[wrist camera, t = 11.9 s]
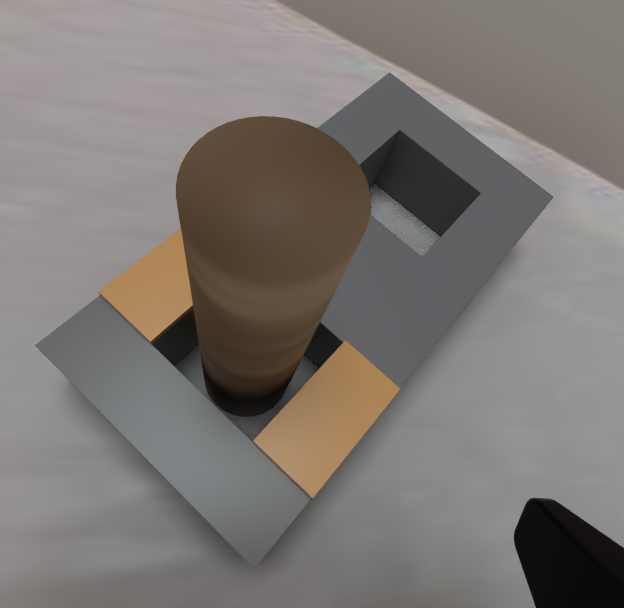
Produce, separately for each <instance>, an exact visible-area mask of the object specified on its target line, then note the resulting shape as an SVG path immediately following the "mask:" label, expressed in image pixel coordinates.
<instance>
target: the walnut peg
mask: <svg viewBox="0 0 624 608" xmlns="http://www.w3.org/2000/svg"><path fill="white" fill-rule="evenodd" d="M176 199H177V206H178V212H179V219H180V225H181V232H182V238H183V244H184V251H185V257H186V264H187V270H188V277H189V283H190V290H191V296H192V302H193V309H194V315H195V322H196V328H197V335H198V341H199V347H200V354H201V360H202V367H203V373H204V380H205V385H206V389H207V391H208V393H209V395H210V397H211V399H212V400H213V401H214V402H215V403H216V405H218V406H219V407H220V408H221V409H223V410H224V411H226V412H228V413H231V414H234V415H238V416H254V415H259V414H261V413H264V412H266V411H268V410H269V409H271V408H272V407H273V406H275V405H276V404H277V403H278V401H279V400H280V399H281V398H282V396H283V394H284V392H285V390H286V388H287V386H288V384H289V383H290V381H291V379H292V377H293V375H294V373H295V371H296V369H297V367H298V365H299V363H300V361H301V359H302V357H303V355H304V353H305V351H306V349H307V347H308V345H309V343H310V341H311V339H312V337H313V335H314V333H315V331H316V329H317V327H318V325H319V323H320V321H321V319H322V317H323V315H324V313H325V311H326V309H327V307H328V305H329V303H330V301H331V299H332V297H333V295H334V293H335V291H336V289H337V287H338V285H339V283H340V281H341V279H342V277H343V275H344V274H345V272H346V270H347V268H348V266H349V264H350V262H351V260H352V258H353V256H354V254H355V252H356V250H357V248H358V246H359V244H360V242H361V240H362V238H363V236H364V234H365V231H366V229H367V227H368V223H369V219H370V213H371V196H370V191H369V186H368V183H367V180H366V178H365V175H364V173H363V171H362V170H361V168H360V166H359V164H358V163H357V162H356V160H355V159H354V157H353V156H352V155H351V154H350V153H349V152H348V151H347V149H346V148H344V147H343V146H342V145H341V144H340V143H339V142H338V141H336V140H335V139H334V138H332V137H331V136H329V135H328V134H326V133H324V132H323V131H321V130H319V129H317V128H315V127H312V126H310V125H308V124H305V123H302V122H299V121H296V120H291V119H287V118H280V117H267V116H260V117H249V118H243V119H238V120H235V121H232V122H228V123H226V124H223V125H221V126H219V127H217V128H215V129H213V130H212V131H210V132H208V133H207V134H206V135H204V136H203V137H202V138H200V139H199V140H198V141H197V142H196V143H195V144H194V145H193V146H192V147H191V149H190V150H189V152H188V153H187V154H186V156H185V158H184V160H183V162H182V164H181V166H180V169H179V172H178V175H177V182H176Z"/></svg>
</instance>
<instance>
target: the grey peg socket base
mask: <svg viewBox="0 0 624 608" xmlns="http://www.w3.org/2000/svg"><path fill="white" fill-rule="evenodd" d="M317 129H319V130H321V131H323V132H324V133H326V134H328V135H329V136H331V137H332V138H334V139H335V140H336V141H338V142H339V143H340V144H341V145H342V146H343V147H344V148H346V149H347V151H348V152H349V153H350V154H351V155H352V156H353V157H354V159H355V160H356V162H357V163H358V164H359V166H360V168H361V170H362V171H363V173H364V175H365V178H366V180H367V183H368V186H369V188H370V187H371V186H373V185H374V184H375V183H376V184H377V185H378V186H380V187H381V188H382V189H383V190H385V191H386V192H387V193H388V194H389V195H391V196H392V197H393V198H394V199H396V200H397V201H398V202H399V203H401V204H402V205H403V206H404V207H406V208H407V209H408V210H409V211H410V212H412V213H413V214H414V215H415V216H417V217H418V218H419V219H420V220H422V221H423V222H424V223H425V224H427V225H428V226H429V227H430V228H431V229H433V230H434V231H435V232H436V233H438V234H439V235H440V236H441V237H440V239H439V240H438V241H437V242H436V243H435V244H434V245H433V246H432V247H431V248H430V249H429V251H428V252H427V253H426V254H425V255H424V256H423V257H421V256H420V255H419V254H417V253H416V252H415V251H414V250H413V249H411V248H410V247H409V246H408V245H407V244H405V243H404V242H403V241H402V240H401V239H399V238H398V237H397V236H396V235H394V234H393V233H392V232H391V231H390V230H388V229H387V228H386V227H385V226H384V225H382V224H381V223H380V222H379V221H377V220H376V219H375V218H374V217H373V216H371V215H370V219H369V223H368V227H367V229H366V231H365V234H364V236H363V238H362V240H361V242H360V244H359V246H358V248H357V250H356V252H355V254H354V256H353V258H352V260H351V262H350V264H349V266H348V268H347V270H346V272H345V274H344V275H343V277H342V279H341V281H340V283H339V285H338V287H337V289H336V291H335V293H334V295H333V297H332V299H331V301H330V303H329V305H328V307H327V309H326V311H325V313H324V315H323V317H322V319H321V321H320V323H319V325H318V327H317V329H316V331H315V333H314V335H313V337H312V339H311V341H310V343H309V345H308V347H307V349H306V351H305V353H304V355H306V356H307V357H308V358H309V359H310V360H311V361H312V362H313V363H314V364H316V365H317V366H318V367H319V370H318V371H317V372H316V373H315V374H314V375H313V376H312V377H311V378H310V379H309V380H308V382H307V383H306V384H305V385H304V386H303V387H302V388H301V389H300V390H299V391H298V392H297V393H296V395H295V396H294V397H293V398H292V399H291V400H290V401H289V402H288V403H287V404H286V405H285V407H284V408H283V409H282V410H281V411H280V412H279V413H278V414H277V415H276V416H275V417H274V418H273V420H272V421H271V422H270V423H269V424H268V425H267V426H266V427H265V428H264V429H263V430H262V432H261V433H260V434H259V435H258V436H257V437H256V438H255V439H254V440H253V442H252V441H251V440H250V439H249V438H248V437H247V436H246V435H245V434H244V433H243V432H242V431H241V430H240V429H239V428H238V427H237V426H235V425H234V424H233V423H232V422H231V421H230V420H229V419H228V418H227V417H226V416H225V415H224V414H223V413H222V412H221V411H220V410H219V409H218V408H217V407H216V406H215V405H214V404H213V403H212V402H211V401H210V400H209V399H207V398H206V397H205V396H204V395H203V394H202V393H201V392H200V391H199V390H198V389H197V388H196V387H195V386H194V385H193V384H192V383H191V382H190V381H189V380H188V379H187V378H186V377H185V376H184V375H183V374H182V373H181V372H180V371H178V370H177V369H176V368H175V367H174V366H175V365H176V364H177V363H178V362H179V361H180V360H181V359H183V358H184V357H185V356H186V355H187V354H188V353H189V352H190V351H191V350H192V349H194V348H195V347H196V346H197V345H198V344H199V341H198V335H197V328H196V322H195V315H194V309H193V302H192V296H191V290H190V283H189V277H188V270H187V264H186V257H185V251H184V244H183V238H182V232H181V229H180V230H178V231H177V232H176V233H174V234H173V235H172V236H170V237H169V238H168V239H166V240H165V241H164V242H163V243H161V244H160V245H159V246H157V247H156V248H155V249H153V250H152V251H151V252H149V253H148V254H147V255H146V256H144V257H143V258H142V259H140V260H139V261H138V262H136V263H135V264H134V265H132V266H131V267H130V268H129V269H127V270H126V271H125V272H123V273H122V274H121V275H119V276H118V277H117V278H115V279H114V280H113V281H112V282H110V283H109V284H108V285H106V286H105V287H104V288H102V289H101V290H100V291H98V292H99V294H100V296H99V297H97V298H96V299H95V300H93V301H92V302H91V303H90V304H88V305H87V306H86V307H84V308H83V309H82V310H80V311H79V312H78V313H77V314H75V315H74V316H73V317H71V318H70V319H69V320H67V321H66V322H65V323H64V324H62V325H61V326H60V327H58V328H57V329H56V330H54V331H53V332H52V333H51V334H49V335H48V336H47V337H45V338H44V339H43V340H41V341H40V342H39V343H38V344H36V345H35V346H36V347H37V348H38V349H39V350H40V351H41V352H42V353H43V354H44V355H45V356H46V357H47V358H48V359H49V360H50V361H51V362H52V363H53V364H54V365H55V366H56V367H57V368H58V369H59V370H60V371H61V372H62V373H63V374H64V376H65V377H66V378H67V379H68V380H69V381H70V382H71V383H72V384H73V385H74V386H75V387H76V388H77V389H78V390H79V391H80V392H81V393H82V394H83V395H84V396H85V397H86V398H87V399H88V400H89V401H90V402H91V403H92V404H93V405H94V406H95V407H96V408H97V409H98V410H99V411H100V412H101V413H102V414H103V415H104V416H105V417H106V418H107V419H108V420H109V421H110V422H111V423H112V424H113V425H114V426H115V428H116V429H117V430H118V431H119V432H120V433H121V434H122V435H123V436H124V437H125V438H126V439H127V440H128V441H129V442H130V443H131V444H132V445H133V446H134V447H135V448H136V449H137V450H138V451H139V452H140V453H141V454H142V455H143V456H144V457H145V458H146V459H147V460H148V461H149V462H150V463H151V464H152V465H153V466H154V467H155V468H156V469H157V470H158V471H159V472H160V473H161V474H162V475H163V476H164V477H165V478H166V480H167V481H168V482H169V483H170V484H171V485H172V486H173V487H174V488H175V489H176V490H177V491H178V492H179V493H180V494H181V495H182V496H183V497H184V498H185V499H186V500H187V501H188V502H189V503H190V504H191V505H192V506H193V507H194V508H195V509H196V510H197V511H198V512H199V513H200V514H201V515H202V516H203V517H204V518H205V519H206V520H207V521H208V522H209V523H210V524H211V525H212V526H213V527H214V528H215V529H216V530H217V532H218V533H219V534H220V535H221V536H222V537H223V538H224V539H225V540H226V541H227V542H228V543H229V544H230V545H231V546H232V547H233V548H234V549H235V550H236V551H237V552H238V553H239V554H240V555H241V556H242V557H243V558H244V559H245V560H246V561H247V562H248V563H249V564H250V565H251V566H252V567H253V568H254V569H255V568H256V567H257V565H258V564H259V563H260V562H261V560H262V559H263V558H264V557H265V555H266V554H267V553H268V552H269V551H270V549H271V548H272V547H273V546H274V544H275V543H276V542H277V541H278V539H279V538H280V537H281V536H282V534H283V533H284V532H285V531H286V529H287V528H288V527H289V526H290V524H291V523H292V522H293V521H294V519H295V518H296V517H297V516H298V514H299V513H300V512H301V511H302V509H303V508H304V507H305V506H306V504H307V503H308V502H309V501H310V499H312V498H313V497H314V496H315V495H316V494H317V492H318V491H319V490H320V489H321V488H322V486H323V485H324V484H325V483H326V481H327V480H328V479H329V478H330V476H331V475H332V474H333V473H334V471H335V470H336V469H337V468H338V466H339V465H340V464H341V463H342V461H343V460H344V459H345V458H346V456H347V455H348V454H349V453H350V451H351V450H352V449H353V448H354V446H355V445H356V444H357V443H358V441H359V440H360V439H361V438H362V436H363V435H364V434H365V433H366V431H367V430H368V429H369V428H370V426H371V425H372V424H373V423H374V421H375V420H376V419H377V418H378V416H379V415H380V414H381V413H382V411H383V410H384V409H385V408H386V406H387V405H388V404H389V403H390V402H391V400H392V399H393V398H394V397H395V395H396V394H397V393H398V392H399V390H400V388H401V386H402V385H403V384H404V383H405V381H406V380H407V379H408V378H409V376H410V375H411V374H412V373H413V371H414V370H415V369H416V368H417V366H418V365H419V364H420V363H421V361H422V360H423V359H424V358H425V356H426V355H427V354H428V353H429V351H430V350H431V349H432V348H433V346H434V345H435V344H436V343H437V341H438V340H439V339H440V338H441V336H442V335H443V334H444V333H445V332H446V330H447V329H448V328H449V327H450V325H451V324H452V323H453V322H454V320H455V319H456V318H457V317H458V315H459V314H460V313H461V312H462V310H463V309H464V308H465V307H466V305H467V304H468V303H469V302H470V300H471V299H472V298H473V297H474V295H475V294H476V293H477V292H478V290H479V289H480V288H481V287H482V285H483V284H484V283H485V282H486V280H487V279H488V278H489V277H490V276H491V274H492V273H493V272H494V271H495V269H496V268H497V267H498V266H499V264H500V263H501V262H502V261H503V259H504V258H505V257H506V256H507V254H508V253H509V252H510V251H511V249H512V248H513V247H514V246H515V244H516V243H517V242H518V241H519V239H520V238H521V237H522V236H523V234H524V233H525V232H526V231H527V229H528V228H529V227H530V226H531V225H532V223H533V222H534V221H535V220H536V218H537V217H538V216H539V215H540V213H541V212H542V211H543V210H544V208H545V207H546V206H547V205H548V203H549V202H550V201H551V200H552V198H553V196H552V195H550V194H549V193H548V192H546V191H545V190H544V189H543V188H541V187H540V186H539V185H537V184H536V183H535V182H533V181H532V180H531V179H529V178H528V177H527V176H525V175H524V174H523V173H521V172H520V171H519V170H517V169H516V168H515V167H514V166H512V165H511V164H510V163H508V162H507V161H506V160H504V159H503V158H502V157H500V156H499V155H498V154H496V153H495V152H494V151H492V150H491V149H490V148H489V147H487V146H486V145H485V144H483V143H482V142H481V141H479V140H478V139H477V138H475V137H474V136H473V135H471V134H470V133H469V132H467V131H466V130H465V129H464V128H462V127H461V126H460V125H458V124H457V123H456V122H454V121H453V120H452V119H450V118H449V117H448V116H446V115H445V114H444V113H442V112H441V111H440V110H438V109H437V108H436V107H435V106H433V105H432V104H431V103H429V102H428V101H427V100H425V99H424V98H423V97H421V96H420V95H419V94H417V93H416V92H415V91H413V90H412V89H411V88H410V87H408V86H407V85H406V84H404V83H403V82H402V81H400V80H399V79H398V78H396V77H395V76H394V75H392V74H391V73H388V74H387V75H386V76H384V77H383V78H382V79H381V80H379V81H378V82H377V83H375V84H374V85H373V86H371V87H370V88H369V89H368V90H366V91H365V92H364V93H362V94H361V95H360V96H358V97H357V98H356V99H355V100H353V101H352V102H351V103H349V104H348V105H347V106H345V107H344V108H343V109H342V110H340V111H339V112H338V113H336V114H335V115H334V116H332V117H331V118H330V119H329V120H327V121H326V122H325V123H323V124H322V125H321V126H319V127H318V128H317Z"/></svg>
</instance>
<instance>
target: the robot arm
mask: <svg viewBox="0 0 624 608" xmlns="http://www.w3.org/2000/svg"><path fill="white" fill-rule="evenodd" d="M514 543H515V547H516V550H517V553H518V556H519V559H520V562H521V565H522V568H523V571H524V574H525V577H526V580H527V583H528V586H529V589H530V591H531V594H532V597H533V600H534V603H535V606H536V608H624V548H623V547H622V546H620V545H619V544H617V543H616V542H614V541H613V540H612V539H610V538H609V537H607V536H606V535H604V534H603V533H601V532H600V531H598V530H597V529H596V528H594V527H593V526H591V525H590V524H588V523H587V522H585V521H584V520H583V519H581V518H580V517H578V516H577V515H575V514H574V513H572V512H571V511H570V510H568V509H567V508H565V507H564V506H562V505H561V504H559V503H558V502H556V501H555V500H552V499H545V498H531V499H530V500H528V501H527V503H526V505H525V507H524V509H523V512H522V514H521V517H520V519H519V522H518V524H517V526H516V529H515V532H514Z"/></svg>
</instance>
